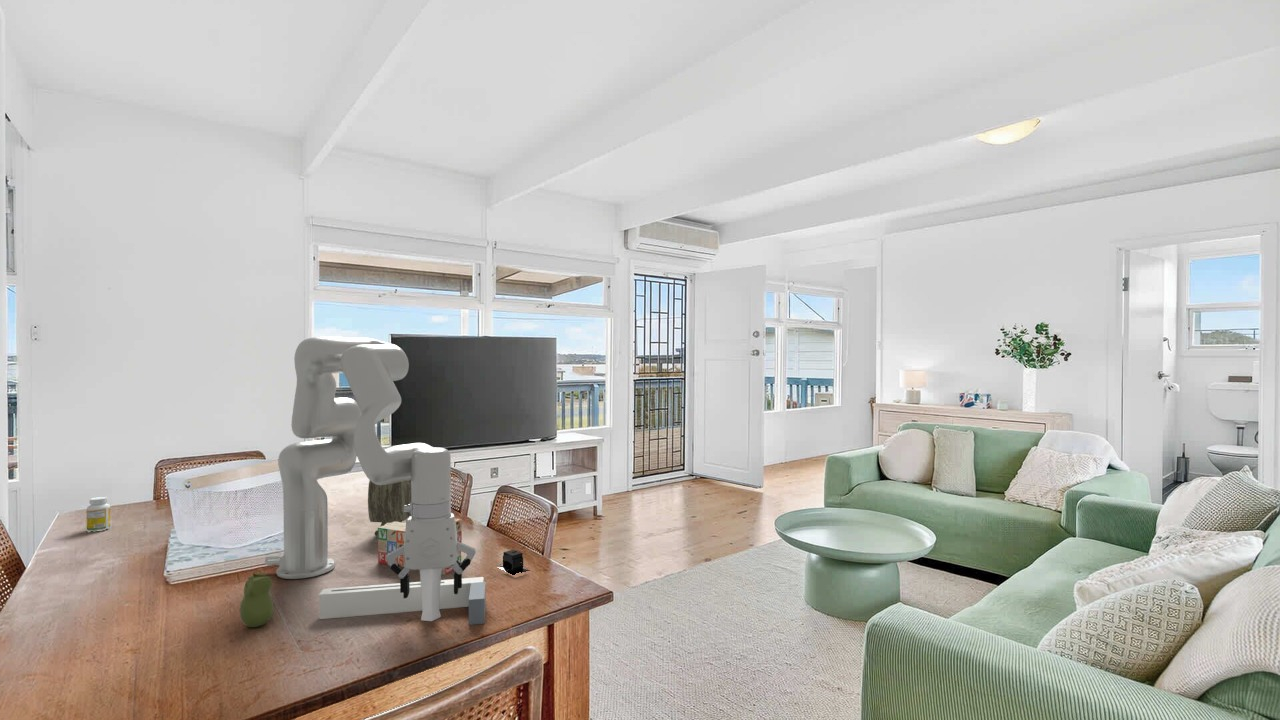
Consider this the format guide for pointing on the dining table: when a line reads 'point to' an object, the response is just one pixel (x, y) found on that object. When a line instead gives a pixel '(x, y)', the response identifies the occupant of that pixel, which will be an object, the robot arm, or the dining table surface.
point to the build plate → (513, 562)
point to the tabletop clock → (388, 502)
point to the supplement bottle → (98, 514)
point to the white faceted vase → (430, 593)
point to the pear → (257, 601)
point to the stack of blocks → (394, 539)
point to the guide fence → (401, 599)
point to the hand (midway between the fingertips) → (431, 593)
